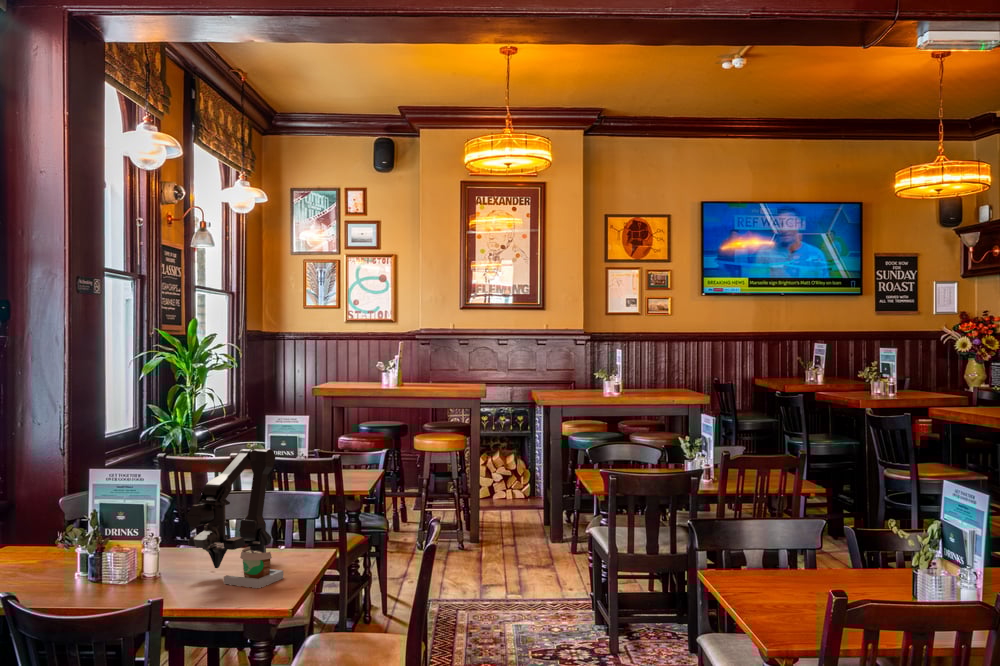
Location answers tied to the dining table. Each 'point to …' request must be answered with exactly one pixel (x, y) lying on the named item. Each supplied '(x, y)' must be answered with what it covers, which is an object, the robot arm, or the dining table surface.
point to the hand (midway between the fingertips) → (216, 567)
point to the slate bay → (253, 582)
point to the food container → (255, 563)
